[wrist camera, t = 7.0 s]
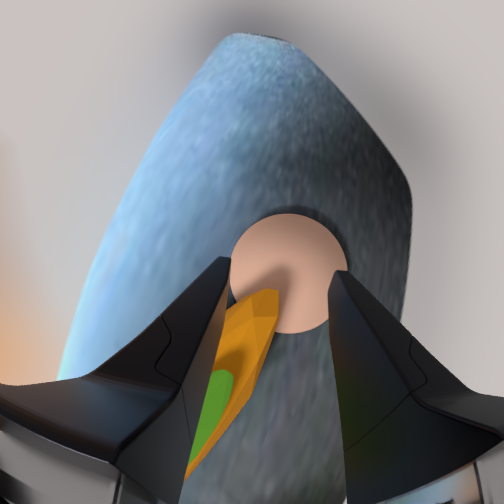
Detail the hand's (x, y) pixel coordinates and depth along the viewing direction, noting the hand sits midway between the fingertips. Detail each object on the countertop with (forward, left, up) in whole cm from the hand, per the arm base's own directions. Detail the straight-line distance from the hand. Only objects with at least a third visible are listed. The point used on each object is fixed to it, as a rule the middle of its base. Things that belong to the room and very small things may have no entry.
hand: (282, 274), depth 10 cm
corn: (-6, +6, -14) cm, 17 cm away
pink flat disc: (+1, -3, -14) cm, 14 cm away
